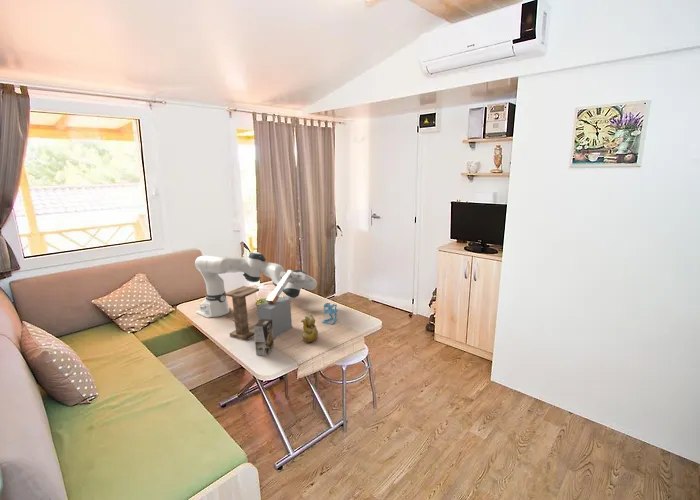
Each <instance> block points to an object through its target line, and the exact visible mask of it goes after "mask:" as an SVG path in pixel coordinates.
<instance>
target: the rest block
mask: <svg viewBox="0 0 700 500" xmlns="http://www.w3.org/2000/svg"><path fill="white" fill-rule="evenodd" d="M291 307H292V306H291V298H287V297H282V296H279V298H278V300H277V301H276V303H275V304H269V303H268V302H267V301H266V300H265V302H263V303H261V304H258V305H256V312H257V313H256V314H257V320H258V322H259V321H260V320H261V319H272V326H273V338H274V339H276V338H278V337H279V336H280V335H282V334H284V333H285V332H287V331H288V330H290V329H291V328H292V327H293V324H292V321H293V320H292V310H291ZM258 322H257V323H258Z"/></svg>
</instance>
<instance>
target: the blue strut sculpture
mask: <svg viewBox="0 0 700 500" xmlns="http://www.w3.org/2000/svg"><path fill="white" fill-rule="evenodd" d="M337 304H338V303H337ZM337 304H331V303H330V302H326V303H324V305H323V308H324V310H323V311H322V312H323V314H328V315H329V318H327V319H323V320H322V321H321V322H322V323H323V324H326V325H331V326H332V325H334V324H335V322H336V321H337V320H338V319H337V315H338V310H339V309H337V306H338V305H337ZM333 315H334V316H333ZM331 320H333V321H332V322H329V321H331Z"/></svg>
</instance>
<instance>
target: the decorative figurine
mask: <svg viewBox="0 0 700 500" xmlns="http://www.w3.org/2000/svg"><path fill="white" fill-rule="evenodd" d="M300 322H301V323H303V325H302V326H303V327H302V329H303V333H302V335H301V341H303V342H306V343H308V344H311V343H313V342H315V341H317V339H318V337H319V331H318V328H317V326H316V318H315V317H314V315H313V314H312V313H311V312H309V313H308V315H304V318H303V319H301V321H300Z"/></svg>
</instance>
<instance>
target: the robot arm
mask: <svg viewBox="0 0 700 500" xmlns="http://www.w3.org/2000/svg"><path fill="white" fill-rule="evenodd" d="M266 261H267V258H266V257H265V255H264V254H263V253H262V252H258V251H252V252H250V253H249V255H248V259H247V260H246V258H242V257H238V256H216V255H201V256H197V257H196V259H195V261H194V266H195V268H196V270H197V271H198V272H199V273H200V274H201V276H202V278H203V280H204V284H205V289H206V293H204V297H205V299H204V300H203V301H202V302H200V304H199V309H198V310H196V312H195V313H196V314H198V315H200V316H202V317H205V318H207V319H210V318H217V317H221V316H225V315H227V314H229V313H230V311H231V310H230V309H231V307H230V306H229V302H228V298H227V296H225V293H227V292H226V289H225V281H224V279H223V278H222V277H221V276H220V275H221V274H229V273H233V274H234V273H242V276H244V279H245V280H246V281H248V282H250V283H259V281H260V280H261V278H262V277H261V275H262V274H263V275H264V276H266V277H268V279H269V278H270V279H271V281H272V285H274V286H275V288H276V287H277V285H278V284H279V282H280V281H281V279H282V278H283V277H284V275H285V274H286V272H287V271H285V269H284V267H283V266H282V265H281V264H279V263H275V262H266ZM292 271H293V273H294V274H293V273H290V276H292V278H291V279H290V280H289V282H288V283H287V285H286V286H285V288H284V289H283V291H282V292H283V294H284V295H286V296H287V297H289V298H290V299H296V298H297V297H298V296H300V292H301V290H302V288H303V289H306V290H307V291H308V290H309V291H313V290H315V289H316V288H317V285H318V282H317V280H316V279H315V278H314V277H312V276H310V275H308V273H307V272H306V271H303V270H300V269H294V270H292Z"/></svg>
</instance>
